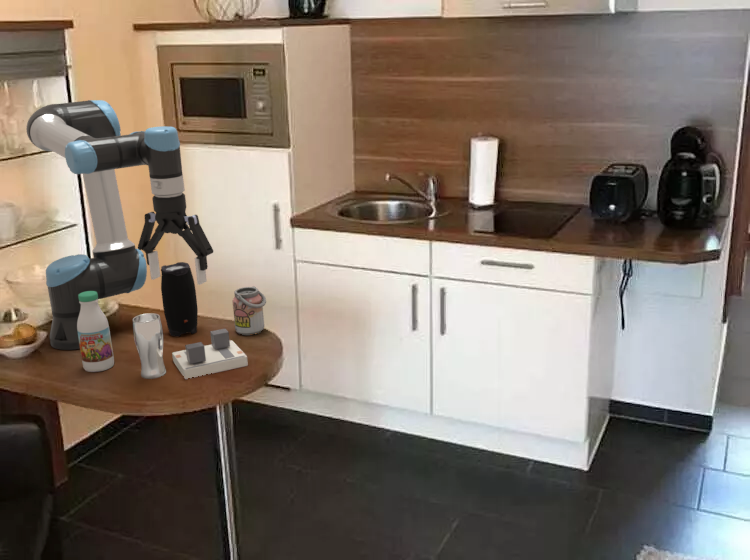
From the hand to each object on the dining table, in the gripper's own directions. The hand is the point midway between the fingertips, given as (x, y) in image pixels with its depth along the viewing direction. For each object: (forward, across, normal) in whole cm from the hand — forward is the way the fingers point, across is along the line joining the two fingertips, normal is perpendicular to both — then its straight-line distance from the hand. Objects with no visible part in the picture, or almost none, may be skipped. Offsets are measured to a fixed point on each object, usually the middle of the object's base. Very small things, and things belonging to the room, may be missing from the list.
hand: (178, 280), depth 201 cm
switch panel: (+24, +2, +6) cm, 25 cm away
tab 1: (+21, +2, +1) cm, 21 cm away
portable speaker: (+24, -18, +23) cm, 38 cm away
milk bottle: (+24, -25, -5) cm, 35 cm away
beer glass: (+24, -8, -4) cm, 26 cm away
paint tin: (+24, 0, +29) cm, 38 cm away
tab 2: (+21, +2, +11) cm, 24 cm away
